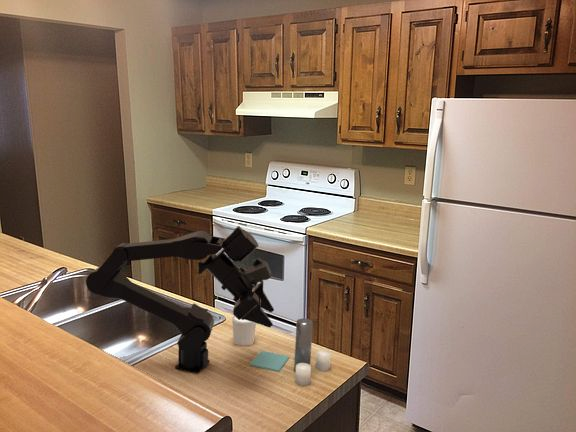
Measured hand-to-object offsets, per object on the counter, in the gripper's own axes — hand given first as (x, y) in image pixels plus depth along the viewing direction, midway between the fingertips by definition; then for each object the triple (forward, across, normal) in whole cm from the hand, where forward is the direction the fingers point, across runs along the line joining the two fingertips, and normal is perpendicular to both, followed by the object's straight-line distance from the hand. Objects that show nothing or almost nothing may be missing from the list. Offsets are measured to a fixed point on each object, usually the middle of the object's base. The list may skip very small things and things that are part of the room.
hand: (272, 318), depth 120 cm
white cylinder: (+4, +15, +15) cm, 22 cm away
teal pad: (+9, +4, +10) cm, 14 cm away
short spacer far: (+19, +2, 0) cm, 19 cm away
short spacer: (+15, -6, +4) cm, 17 cm away
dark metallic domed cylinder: (+15, 0, +4) cm, 16 cm away
